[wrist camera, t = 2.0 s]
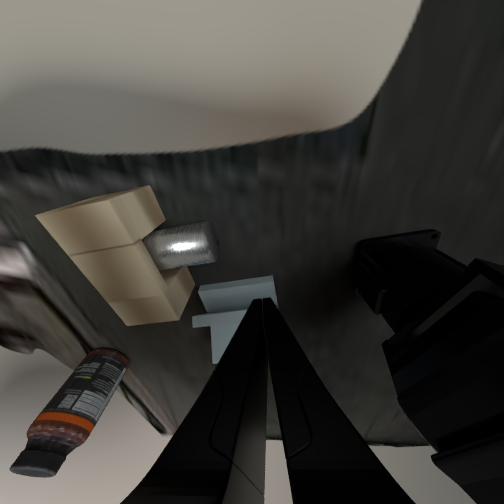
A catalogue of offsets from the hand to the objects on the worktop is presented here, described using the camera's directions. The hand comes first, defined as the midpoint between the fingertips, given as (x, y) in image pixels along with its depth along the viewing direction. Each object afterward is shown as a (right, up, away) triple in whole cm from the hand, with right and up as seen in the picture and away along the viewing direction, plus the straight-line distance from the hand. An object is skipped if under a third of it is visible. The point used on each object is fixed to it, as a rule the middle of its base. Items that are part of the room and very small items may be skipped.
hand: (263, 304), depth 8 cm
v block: (-1, -4, +13) cm, 14 cm away
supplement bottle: (-22, -14, +19) cm, 32 cm away
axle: (-9, +2, +7) cm, 12 cm away
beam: (-10, +3, +9) cm, 14 cm away
